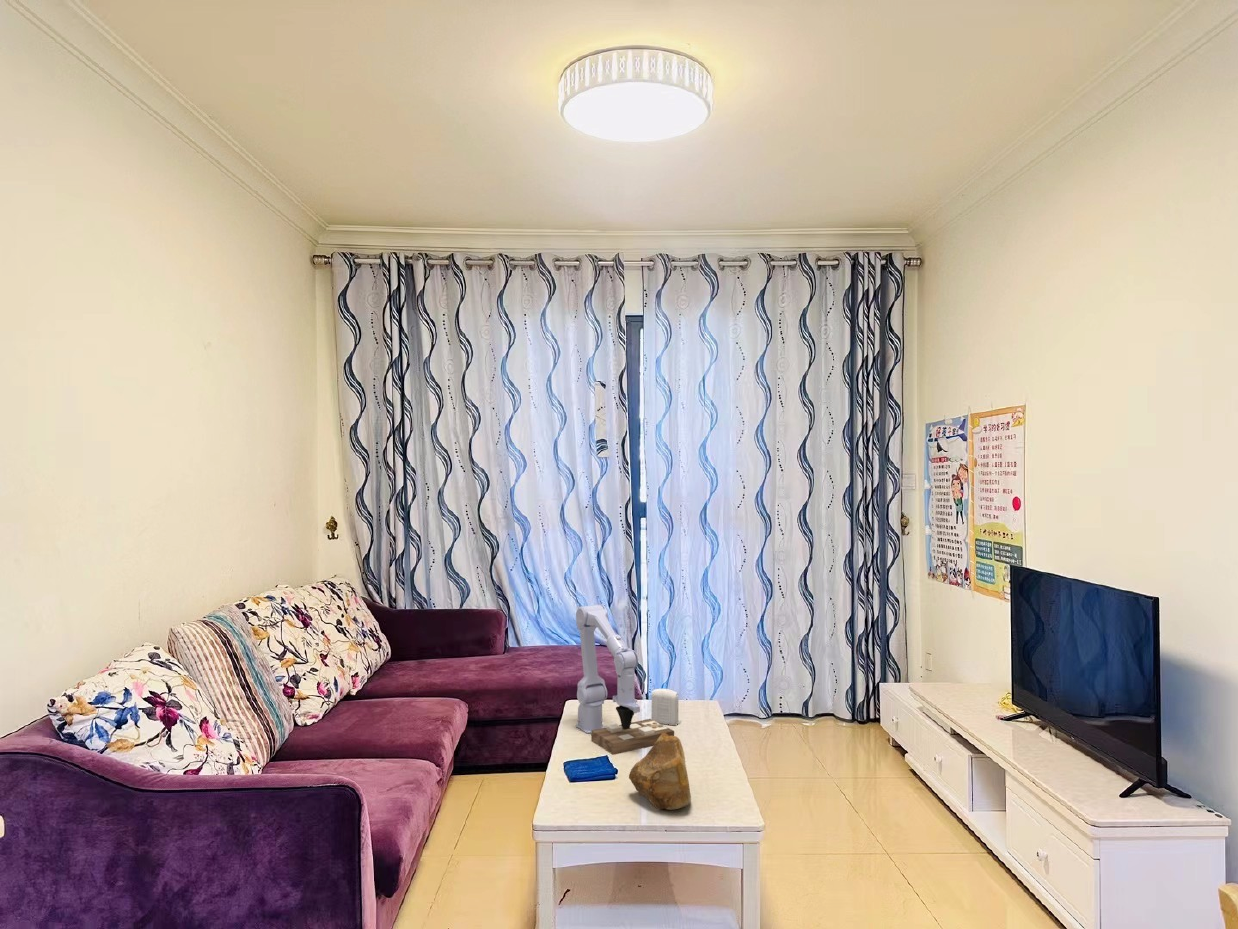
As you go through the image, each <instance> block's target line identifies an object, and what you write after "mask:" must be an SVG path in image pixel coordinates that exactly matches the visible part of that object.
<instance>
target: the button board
mask: <svg viewBox="0 0 1238 929" xmlns="http://www.w3.org/2000/svg"><path fill="white" fill-rule="evenodd" d="M635 723H636V724H638V725H640V726H642V727H647V726H649V727H650V728H652V729H654V730H655V734H650V735H645V736H644V735H642V734H640V733H638V728H634V729H631V728H630V729H626V730H624V729H623V728H622V731H619V732H614V733H611V732H609V731H607V730H606V727H605V728H602V729H596V730H591V733H590V734H591V736H590V738H591V740H590V741H591V742H592V743H594V742H595V743H594V744H595V745H598V746H599V747H600V748H602V749H604V750H605V751H607V752H608V753H610V754H611V755H618V754H622V753H626V752H631V751H636V750H639V749H640V750H641V749H645V748H650V747H653V746H654V744H655V742H656V741H657V739H658V738H659V736H660V735H661V734H663V733H666V734H667V735H669V736H675V730H673V729H672V728H669V727H668V726H665V724H661V723H658V722H656V721H654V720H652V718H648V719H644V720H637V721H633V722H632V721H631V724H635ZM618 725H619V726H621V727H622V725H621V724H618ZM642 727H639V728H642ZM626 734H629V735H631V736H633V737H634V738H631V739H626V740H623V739H621V738H619V737H618V736H621V735H626Z"/></svg>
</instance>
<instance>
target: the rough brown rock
mask: <svg viewBox="0 0 1238 929" xmlns="http://www.w3.org/2000/svg"><path fill="white" fill-rule="evenodd" d="M686 766H687V765H686V757H685V751H684V748H683V745H682V742H681V739H680V738H679V737H677V736H675V735H674V736H669V735H667V734H666V733H663V734H661V735H660V736H659V738H658V739H657V741H656V742H655V744H654V746H651V748H650V749H649V751H648V752H647V753H646V755H645V756H644V757H643V758H641V759H640V760H639V761H638V762H636V763H635V764H634V765H633V766H632V768H631V769H630V772H629V774H628V779H629V780H630V782H631V783H632V785H633V787H634V788H635V790H636V791H637V793H638V794H640V795H642V796H644V797H646V799H648V800H649V802H650V803H651V804H652V805H653V806H654V807H655V808H656V809H659V810H660V811H661V810H662V811H663V810H664V809H666V810H668V811H670V810H678V809H679V810H680V809H683V808H685V807H687V806H688V805H689V804H690V803H691V800H692V795H691V794H692V793H691V788H690V782H689V781H690V780H689V776H688V771H687V767H686Z"/></svg>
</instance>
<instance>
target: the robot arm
mask: <svg viewBox="0 0 1238 929" xmlns="http://www.w3.org/2000/svg"><path fill="white" fill-rule="evenodd" d="M608 616H609V615H608V610H607V608H606V606H605V605H604V604H603V603H600V604H595V605H587V606H585V605H584V606H579V607H578V608H577V610H576V612H575V619H576V620H575V621H576V628H577V630H578V631H579V639H580V649H581V650H580V651H581V660H582V669H583V670H582V671H583V677H582V678H581V679H580V680H579V681H578V682H577V691H576V698H577V701H578V703H579V705H578V708H577V724H576V725H575V727H576V728H578V729H580V730H581V731H583V732H585V734H591V730H596V729H602V728H606V726H604V725H603V705H604V704H605V701H606V700H607V698H608V689H607V687H606V681H605V679H604V678H602V677H601V676H600V675H599V671H598V661H597V651H596V641H595V631H596V629H598V630H599V631H600V633H601V634H602V635H603V637H604V639H606V642H605V644H606V647H607V649H608V650H609V652H610V653H611V655H612V656H613V658H614V659H613V664H614V667H615V668H614V669H615V673H616V675H617V677H616V678H617V681H616V682H617V684H616V686H617V688H616V690H617V694H615V695H613V696H612V702H613V703H616V704H617V705H618V706H616V707H615V711H616V712H617V714H618V716H619V720H620V725H622V728H623V729H624V730H626V729H630V725H631V723H632V721H633V717H634V715H635V714H637V713H641V709H640V708H641V706H640V705H638V699H636V697H635V686H636V685H635V684H636V683H635V668H637V666H638V665H639V658H638V657H639V656H638V654H637V652H636V651H635V650H633V649H632V648H629V647H628V645H627V644H626V643H625V641H624V640H623V638H622V637H621V635H620V634H617V633H615V631H614V629H613V626H612V625H611V623H610V621H609V619H608Z"/></svg>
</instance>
